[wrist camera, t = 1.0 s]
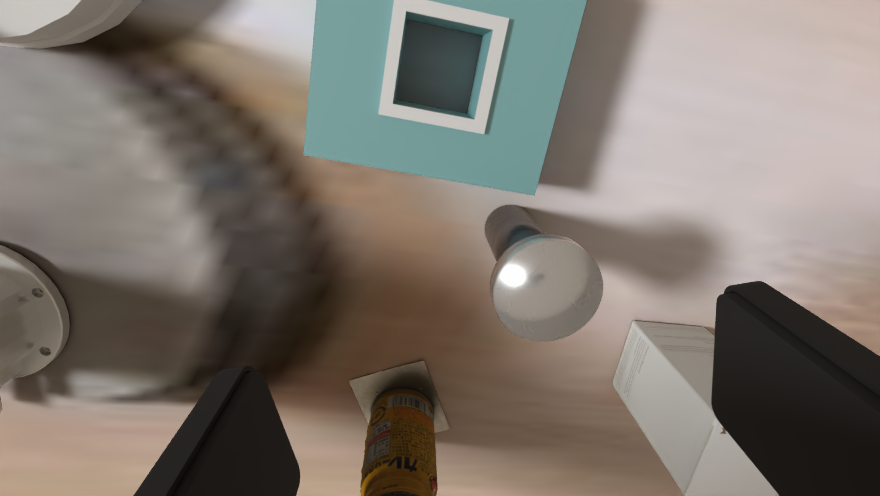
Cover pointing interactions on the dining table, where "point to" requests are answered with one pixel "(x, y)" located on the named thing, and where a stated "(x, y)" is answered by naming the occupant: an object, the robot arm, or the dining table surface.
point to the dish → (58, 20)
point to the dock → (430, 128)
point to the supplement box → (683, 410)
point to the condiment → (400, 431)
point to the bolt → (539, 277)
